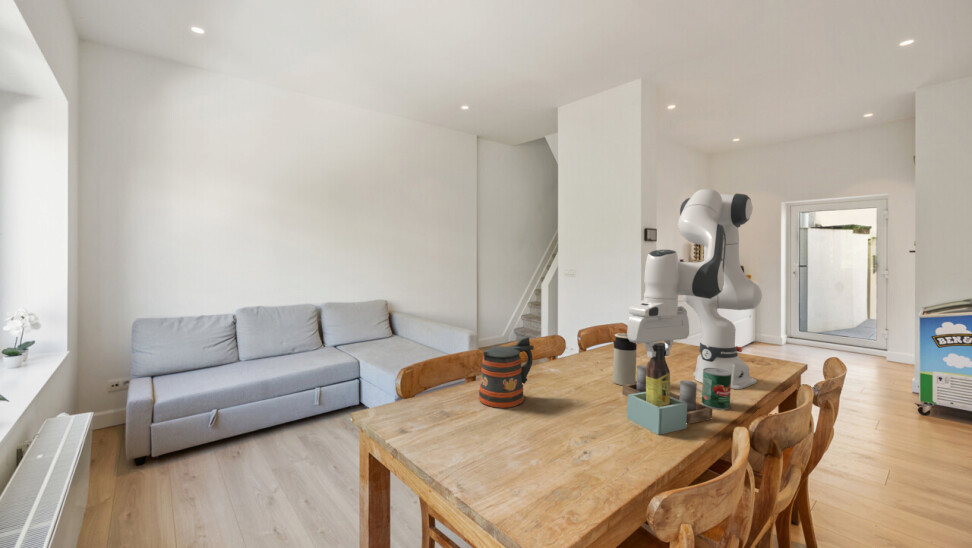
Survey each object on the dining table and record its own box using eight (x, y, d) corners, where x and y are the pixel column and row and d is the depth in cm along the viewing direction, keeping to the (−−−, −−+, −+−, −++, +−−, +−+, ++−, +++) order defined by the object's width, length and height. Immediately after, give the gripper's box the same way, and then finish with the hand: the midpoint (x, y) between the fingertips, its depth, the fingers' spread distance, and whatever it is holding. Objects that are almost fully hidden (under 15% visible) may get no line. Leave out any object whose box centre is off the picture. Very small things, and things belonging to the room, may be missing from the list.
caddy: (653, 412, 121) (654, 390, 121) (686, 428, 111) (687, 403, 110) (626, 418, 117) (627, 394, 117) (658, 434, 106) (659, 409, 106)
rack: (644, 390, 141) (645, 362, 141) (712, 418, 117) (713, 385, 117) (622, 393, 137) (623, 365, 137) (687, 424, 113) (689, 389, 113)
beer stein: (516, 387, 143) (517, 331, 142) (543, 400, 130) (544, 339, 129) (470, 397, 133) (471, 337, 131) (494, 412, 120) (495, 346, 119)
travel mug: (612, 385, 146) (614, 336, 145) (612, 378, 154) (614, 332, 153) (636, 387, 144) (637, 338, 143) (634, 380, 152) (636, 333, 151)
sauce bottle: (667, 418, 110) (666, 347, 108) (643, 413, 113) (642, 345, 112) (672, 410, 115) (672, 342, 113) (650, 405, 118) (649, 339, 117)
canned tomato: (724, 411, 123) (725, 376, 122) (697, 404, 129) (698, 370, 128) (733, 405, 128) (735, 372, 127) (707, 398, 134) (709, 366, 133)
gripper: (677, 304, 119) (675, 350, 120) (624, 307, 111) (622, 356, 112) (696, 307, 113) (694, 355, 114) (641, 310, 105) (639, 362, 106)
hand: (658, 356), depth 113 cm, fingers closed on sauce bottle, 4 cm apart
